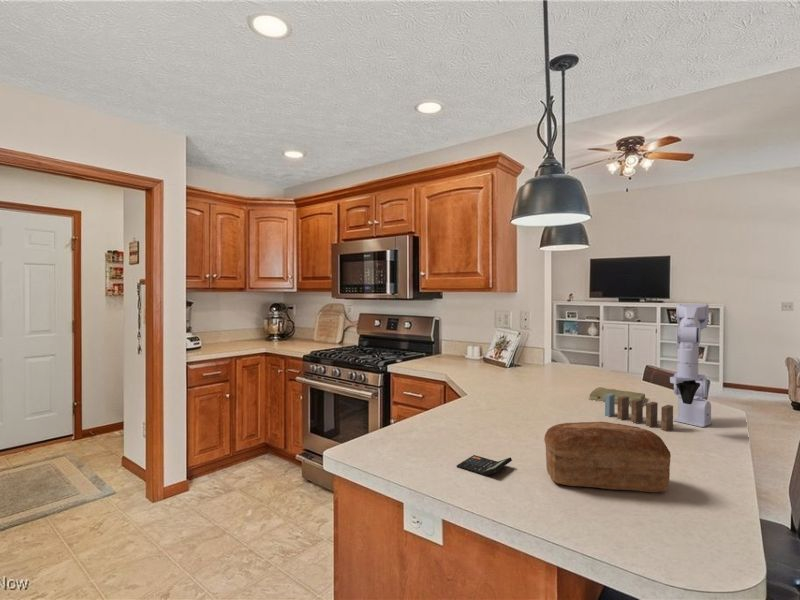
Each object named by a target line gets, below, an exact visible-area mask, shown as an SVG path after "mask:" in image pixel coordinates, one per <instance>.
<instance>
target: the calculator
mask: <svg viewBox="0 0 800 600" xmlns="http://www.w3.org/2000/svg"><path fill="white" fill-rule="evenodd" d="M512 461H513V459H512V457H508V458H505V459H502V460H499V461H497V460H493V459H490V458H486V457H484V456H483V457H482V456H480V455H479V456H478V455H475V454H473V455H471V456H470V457H468V458H467V459H465V460H463V461H462V462H460V463H458V464H456V468H458V469H460V470H464V471H468V472H470V473H474V474H476V475H480V476H487V475H491V474H494V473H497V472H499V471H500V470H501V469H502V468H504V467H506V466H507V465H508V464H509V463H511V462H512Z"/></svg>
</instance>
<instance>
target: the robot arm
mask: <svg viewBox="0 0 800 600" xmlns="http://www.w3.org/2000/svg"><path fill="white" fill-rule="evenodd" d="M709 309H710V308H709V304H708V303H680V302H679V303H677V304H676V311H675V312H676V314H675V315H676V319H677V320H676V321H677V322H676V324H677V326H678V327H676V330H675V340H676V349H677V364H676V365H677V368H676V369H677V370H676V371H677V372H676V373H674V375H673V376H669V383H670V384H673V393H674V394H675V396H677V398H678V399H677V400H678V402H677V404H678V405H677V406H678V407H677V408H678V409H677V417H676V418H673V422H678V423H683V424H687V425H692V426H695V427H699V428H704V427H707V426H709V425H711V424H713V422H712V403H711V402H710V401H709V400H706V398H707V397H708V379H707V377H706V375H705V374H703V373H702V372H700V371H699V358H700V357H699V351H700V350H699V345H700V343H701V332H702V330H704V329H706V328H707V327H708V325H709Z"/></svg>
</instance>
